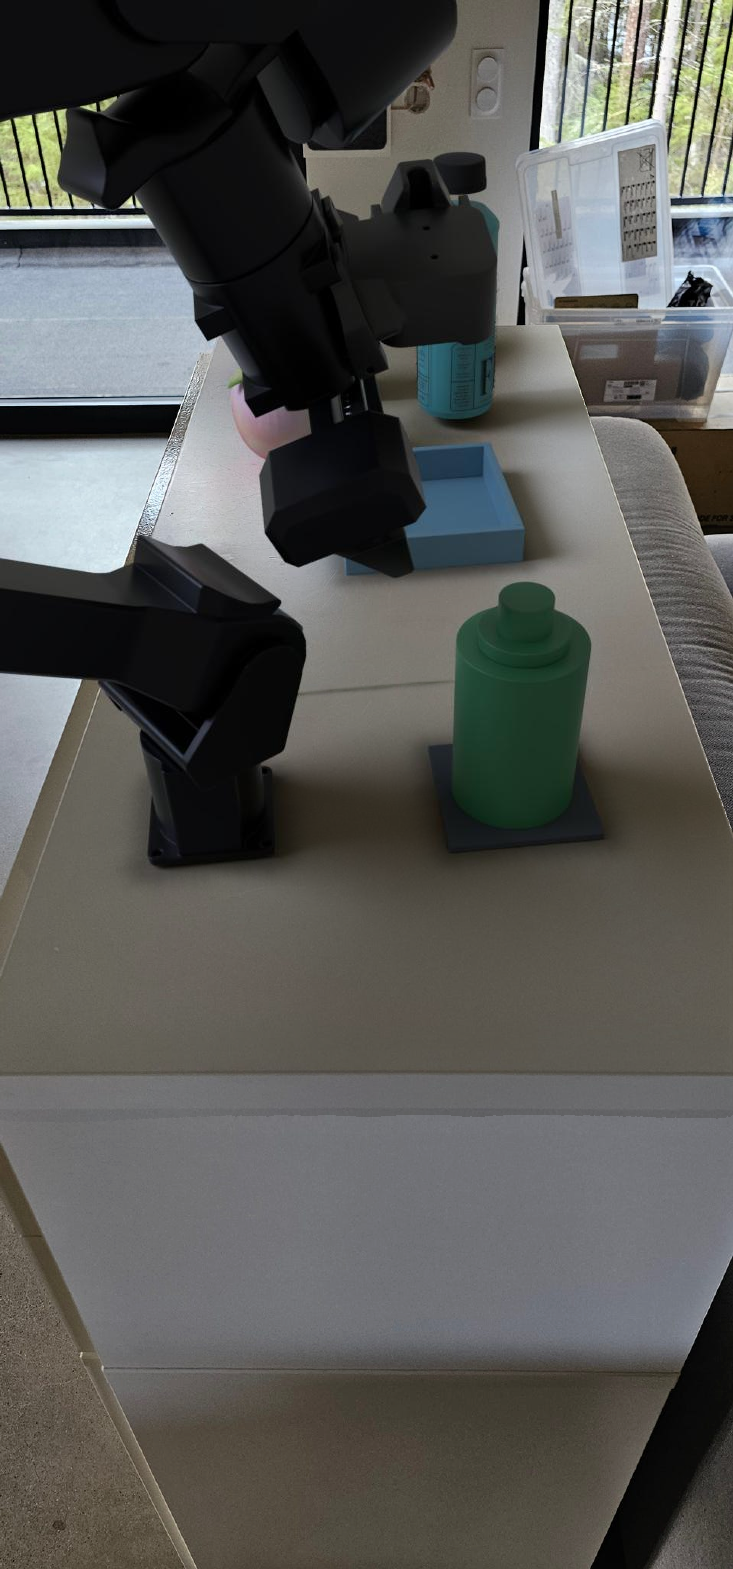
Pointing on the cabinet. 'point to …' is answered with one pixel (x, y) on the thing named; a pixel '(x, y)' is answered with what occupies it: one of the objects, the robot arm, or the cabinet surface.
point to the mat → (476, 835)
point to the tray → (461, 511)
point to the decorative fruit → (265, 422)
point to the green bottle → (518, 709)
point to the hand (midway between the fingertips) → (391, 504)
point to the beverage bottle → (453, 371)
